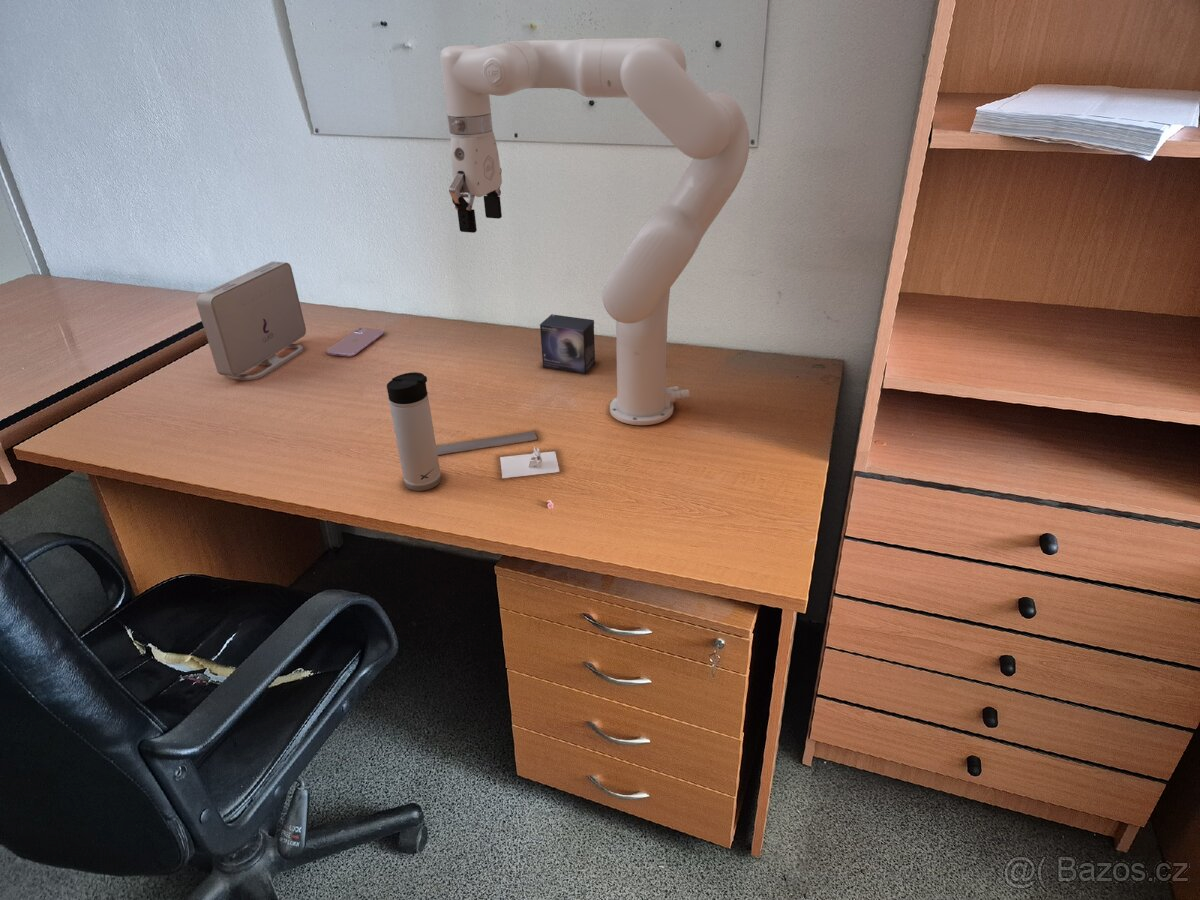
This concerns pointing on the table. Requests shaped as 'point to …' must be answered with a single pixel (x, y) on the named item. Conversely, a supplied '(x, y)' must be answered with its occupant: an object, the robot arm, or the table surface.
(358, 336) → the mobile phone
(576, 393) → the table surface
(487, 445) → the steel ruler
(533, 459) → the adhesive hook
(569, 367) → the small box
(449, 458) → the table surface
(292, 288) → the network device
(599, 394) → the table surface
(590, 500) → the table surface
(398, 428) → the travel mug
